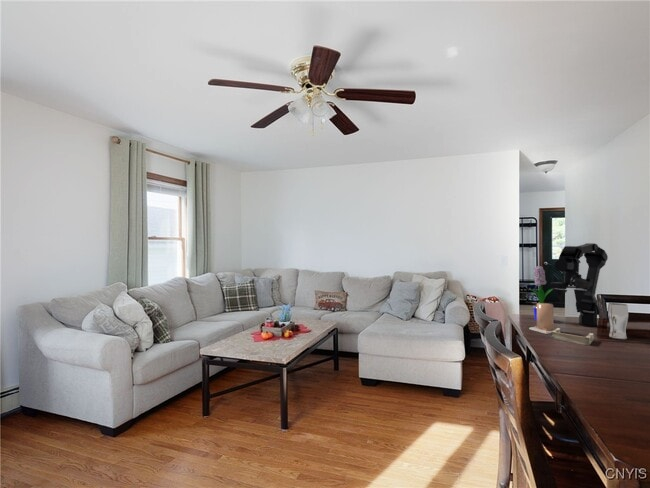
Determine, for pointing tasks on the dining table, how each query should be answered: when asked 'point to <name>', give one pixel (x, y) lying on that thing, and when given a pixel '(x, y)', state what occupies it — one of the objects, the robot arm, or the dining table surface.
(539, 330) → the tile
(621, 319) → the beer glass
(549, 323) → the peach tapered rounded piece
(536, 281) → the hyacinth
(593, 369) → the dining table surface
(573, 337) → the frame
